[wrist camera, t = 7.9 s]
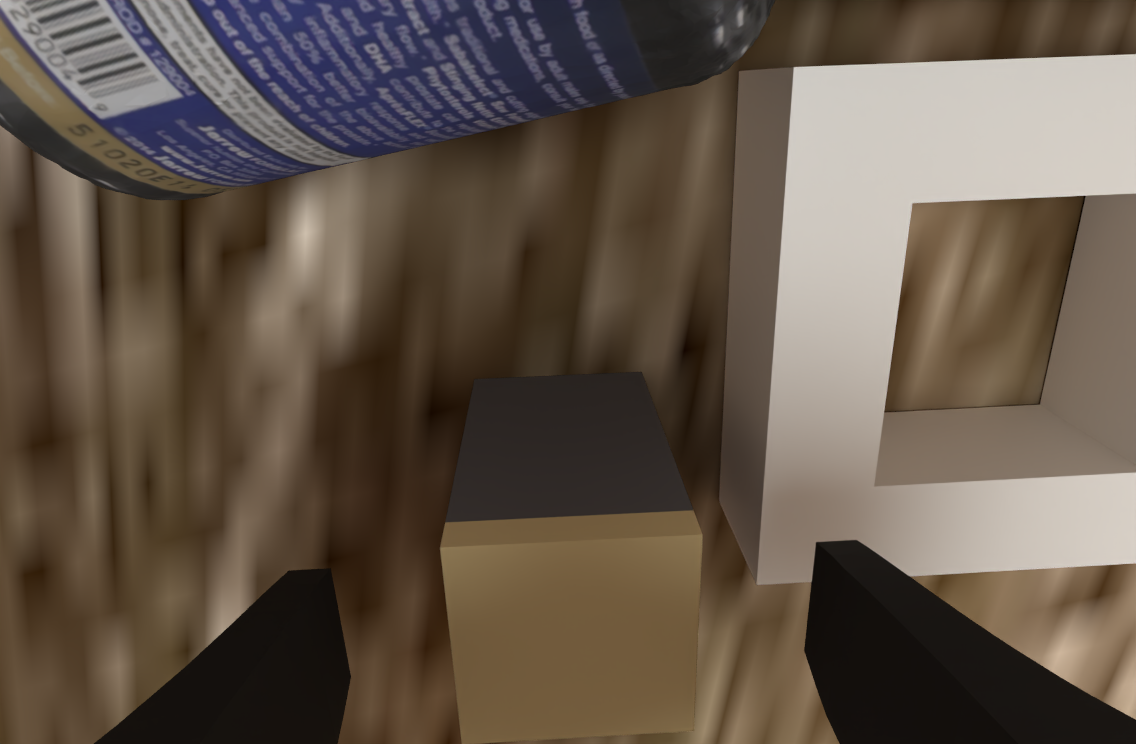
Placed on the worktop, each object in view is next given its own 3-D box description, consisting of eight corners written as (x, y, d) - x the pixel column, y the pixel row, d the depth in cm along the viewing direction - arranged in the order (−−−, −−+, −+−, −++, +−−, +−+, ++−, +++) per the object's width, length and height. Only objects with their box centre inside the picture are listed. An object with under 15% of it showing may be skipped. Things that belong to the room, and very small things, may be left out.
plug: (639, 514, 17) (693, 730, 11) (486, 522, 17) (461, 744, 11) (641, 372, 15) (702, 534, 10) (474, 379, 15) (439, 547, 10)
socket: (1107, 479, 17) (1221, 558, 14) (718, 500, 17) (756, 585, 14) (1221, 52, 13) (1401, 44, 11) (738, 71, 13) (794, 67, 10)
